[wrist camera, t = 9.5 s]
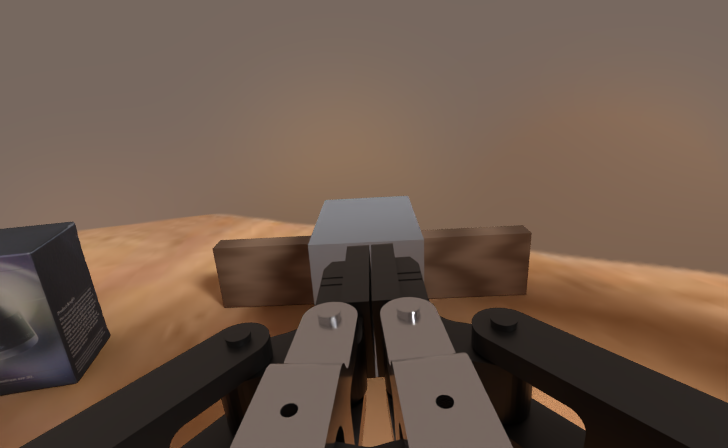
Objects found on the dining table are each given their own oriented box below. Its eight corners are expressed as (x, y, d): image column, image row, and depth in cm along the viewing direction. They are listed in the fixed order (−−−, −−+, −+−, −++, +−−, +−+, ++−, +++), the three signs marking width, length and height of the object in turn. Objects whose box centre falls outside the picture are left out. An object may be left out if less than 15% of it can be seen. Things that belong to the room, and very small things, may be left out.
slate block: (409, 300, 36) (407, 195, 33) (424, 375, 27) (423, 239, 23) (334, 303, 36) (325, 200, 33) (322, 379, 27) (307, 245, 24)
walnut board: (518, 283, 38) (522, 225, 36) (526, 294, 36) (531, 233, 34) (231, 296, 38) (220, 240, 36) (224, 307, 37) (212, 248, 35)
